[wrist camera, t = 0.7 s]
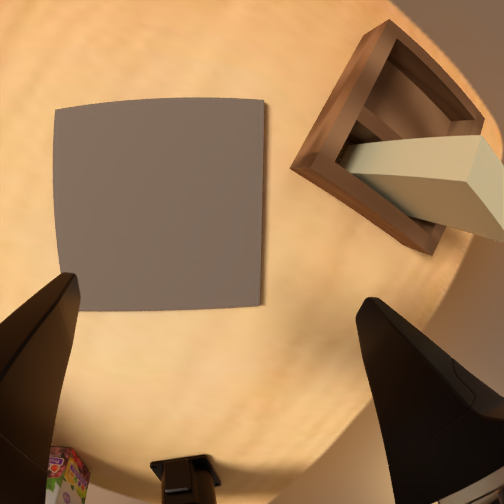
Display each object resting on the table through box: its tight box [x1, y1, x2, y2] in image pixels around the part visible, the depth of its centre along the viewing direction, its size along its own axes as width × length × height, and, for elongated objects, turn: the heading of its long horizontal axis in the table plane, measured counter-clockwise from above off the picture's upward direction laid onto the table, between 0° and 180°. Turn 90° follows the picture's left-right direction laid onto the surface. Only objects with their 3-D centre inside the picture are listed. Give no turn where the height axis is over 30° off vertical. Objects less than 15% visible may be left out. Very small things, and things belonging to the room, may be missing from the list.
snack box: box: [45, 447, 90, 504], centre depth 16 cm, size 21×6×15 cm, turn 97°
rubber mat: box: [53, 98, 264, 311], centre depth 20 cm, size 15×15×1 cm
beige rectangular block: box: [338, 135, 504, 243], centre depth 17 cm, size 2×6×13 cm, turn 61°
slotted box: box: [290, 19, 485, 256], centre depth 21 cm, size 14×12×4 cm
